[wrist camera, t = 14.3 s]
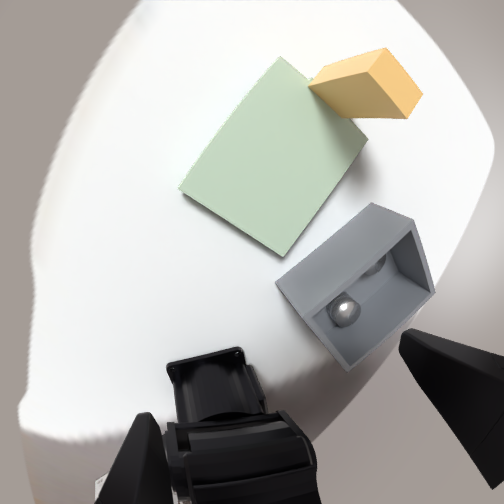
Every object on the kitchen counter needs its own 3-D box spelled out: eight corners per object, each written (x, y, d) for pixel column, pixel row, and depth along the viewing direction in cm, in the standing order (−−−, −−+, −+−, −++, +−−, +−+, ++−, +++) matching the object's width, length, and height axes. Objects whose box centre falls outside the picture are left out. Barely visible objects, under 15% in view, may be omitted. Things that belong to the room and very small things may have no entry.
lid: (275, 249, 22) (326, 305, 15) (177, 185, 18) (182, 216, 11) (367, 123, 20) (445, 128, 13) (285, 46, 17) (348, 8, 10)
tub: (320, 338, 26) (347, 372, 22) (274, 282, 23) (301, 317, 18) (400, 269, 26) (435, 292, 22) (371, 202, 23) (413, 219, 18)
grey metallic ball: (325, 319, 25) (335, 330, 23) (326, 295, 24) (336, 306, 22) (348, 311, 25) (359, 322, 24) (350, 288, 24) (362, 298, 23)
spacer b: (349, 269, 24) (361, 278, 22) (349, 241, 23) (362, 249, 21) (372, 262, 24) (385, 270, 23) (373, 236, 23) (387, 243, 22)
